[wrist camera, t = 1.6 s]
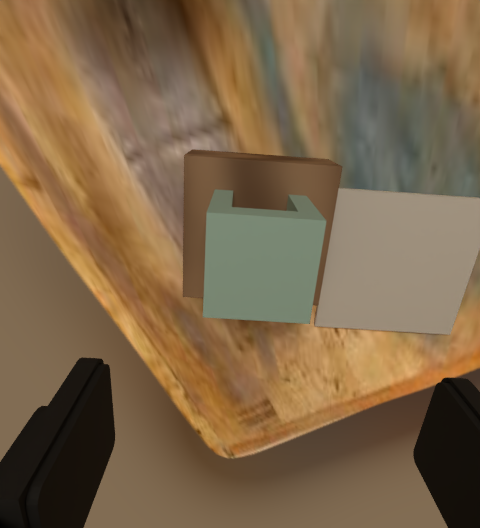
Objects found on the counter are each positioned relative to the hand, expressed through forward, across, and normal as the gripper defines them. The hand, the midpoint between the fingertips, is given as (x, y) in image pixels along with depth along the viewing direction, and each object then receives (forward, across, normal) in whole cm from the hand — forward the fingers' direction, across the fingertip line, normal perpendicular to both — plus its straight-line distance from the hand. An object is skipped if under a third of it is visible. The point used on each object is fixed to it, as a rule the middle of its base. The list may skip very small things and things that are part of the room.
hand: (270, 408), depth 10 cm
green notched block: (+16, 0, 0) cm, 16 cm away
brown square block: (+20, 0, 0) cm, 20 cm away
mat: (+20, -12, +3) cm, 23 cm away
